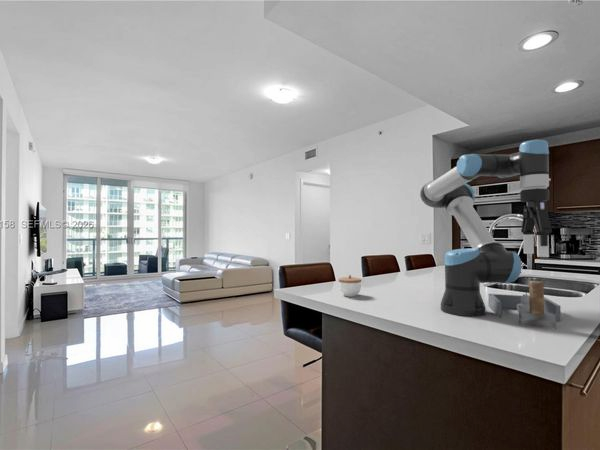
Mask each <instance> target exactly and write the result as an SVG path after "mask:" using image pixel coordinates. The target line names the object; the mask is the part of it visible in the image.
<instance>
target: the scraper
mask: <svg viewBox="0 0 600 450" xmlns="http://www.w3.org/2000/svg"><path fill="white" fill-rule="evenodd" d="M544 283H545V282H542V281H541V280H540V281H539V280H528V285H529V287H528V288H529V289H528V290H529V294H528V296H529V303H530V312H528V311H518V324H519V323H520V324H519V325H520V326H523V327H533V328H543V329H544V328H545V329H546V328H547V329H557V320H556V315H554V314H552V313H545V312H544V297H545V293H544V291H545V290H544V289H545V288H544V285H545V284H544Z"/></svg>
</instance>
